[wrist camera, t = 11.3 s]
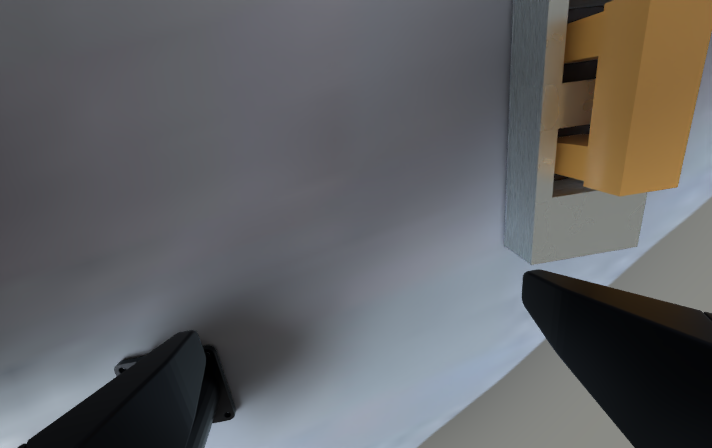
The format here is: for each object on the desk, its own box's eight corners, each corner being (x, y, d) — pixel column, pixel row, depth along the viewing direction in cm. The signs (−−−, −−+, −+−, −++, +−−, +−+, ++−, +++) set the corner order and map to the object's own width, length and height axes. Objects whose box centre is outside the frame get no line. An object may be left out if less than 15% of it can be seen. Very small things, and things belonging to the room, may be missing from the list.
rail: (597, 230, 23) (637, 246, 20) (504, 245, 23) (531, 264, 20) (642, -90, 17) (707, -129, 14) (515, -78, 17) (557, -117, 14)
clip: (578, 166, 21) (677, 187, 16) (535, 173, 21) (619, 196, 15) (594, 19, 19) (723, -23, 13) (544, 25, 18) (653, -15, 12)
